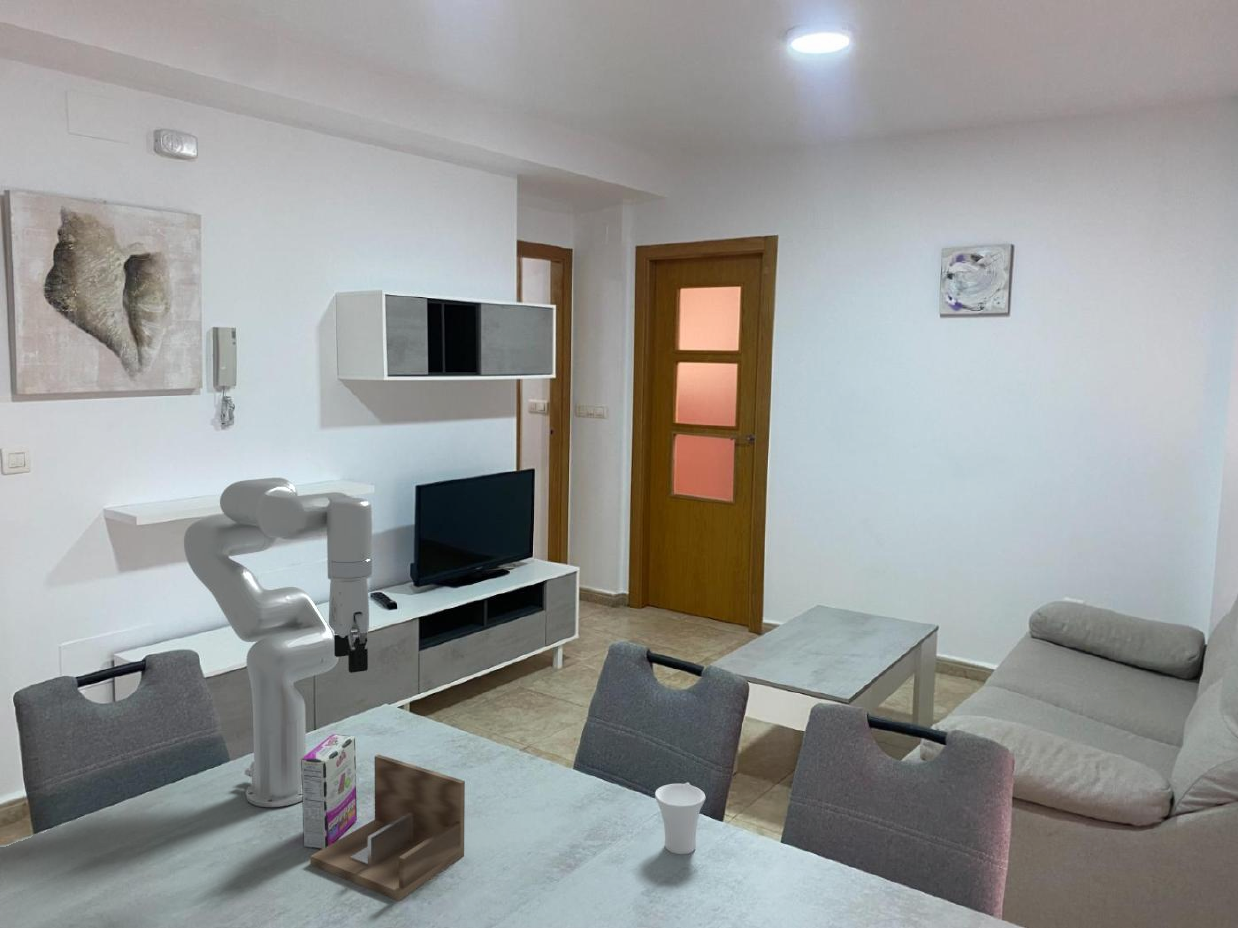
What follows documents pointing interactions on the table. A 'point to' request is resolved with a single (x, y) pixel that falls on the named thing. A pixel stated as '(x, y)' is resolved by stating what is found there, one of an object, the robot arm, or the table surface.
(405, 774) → the shelf
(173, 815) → the table surface
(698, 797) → the cup
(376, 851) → the bookend
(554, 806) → the table surface
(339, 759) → the candy bar box
